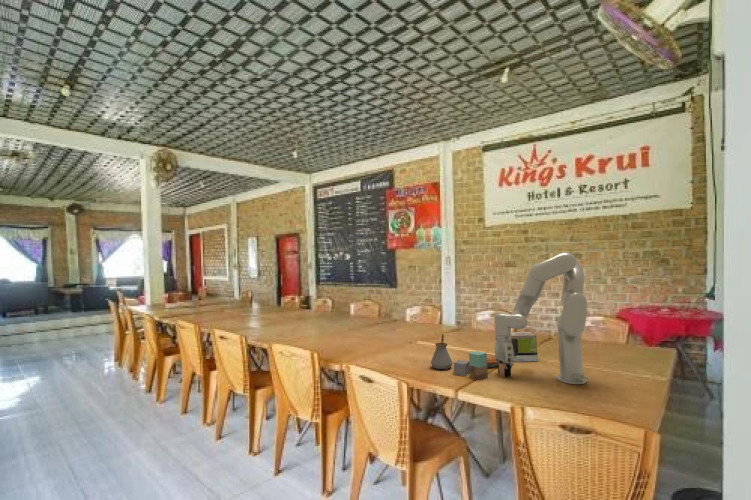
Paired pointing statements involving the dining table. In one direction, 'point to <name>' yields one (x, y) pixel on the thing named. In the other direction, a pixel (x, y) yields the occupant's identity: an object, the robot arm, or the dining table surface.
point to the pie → (491, 361)
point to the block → (461, 367)
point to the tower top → (478, 359)
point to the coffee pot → (441, 356)
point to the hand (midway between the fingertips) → (504, 374)
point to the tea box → (524, 346)
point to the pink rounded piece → (502, 369)
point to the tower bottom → (479, 372)
